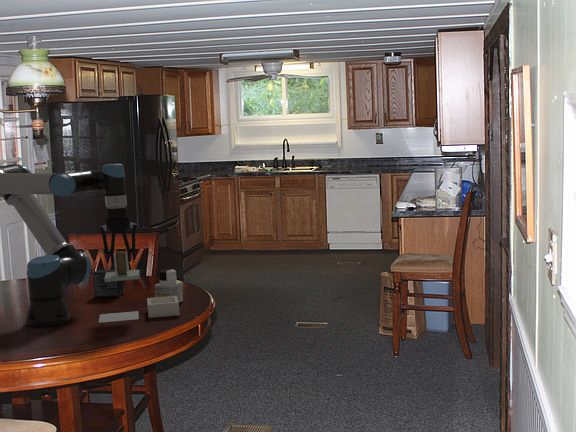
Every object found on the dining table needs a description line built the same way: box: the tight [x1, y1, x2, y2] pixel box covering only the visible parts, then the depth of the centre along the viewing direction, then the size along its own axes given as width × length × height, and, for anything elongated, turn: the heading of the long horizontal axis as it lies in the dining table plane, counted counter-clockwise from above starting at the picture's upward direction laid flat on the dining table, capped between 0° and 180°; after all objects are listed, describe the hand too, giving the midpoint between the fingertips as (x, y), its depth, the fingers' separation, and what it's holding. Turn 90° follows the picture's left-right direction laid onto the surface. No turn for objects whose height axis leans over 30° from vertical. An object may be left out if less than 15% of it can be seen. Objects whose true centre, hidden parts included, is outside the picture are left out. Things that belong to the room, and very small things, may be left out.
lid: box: [104, 250, 140, 282], centre depth 279 cm, size 12×12×9 cm
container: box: [154, 268, 184, 304], centre depth 300 cm, size 8×8×13 cm
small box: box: [92, 269, 125, 299], centre depth 317 cm, size 11×6×10 cm, turn 84°
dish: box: [146, 296, 180, 319], centre depth 284 cm, size 11×11×5 cm
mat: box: [98, 310, 140, 324], centre depth 282 cm, size 14×12×1 cm
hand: (122, 271), depth 279 cm, fingers closed on lid, 3 cm apart
